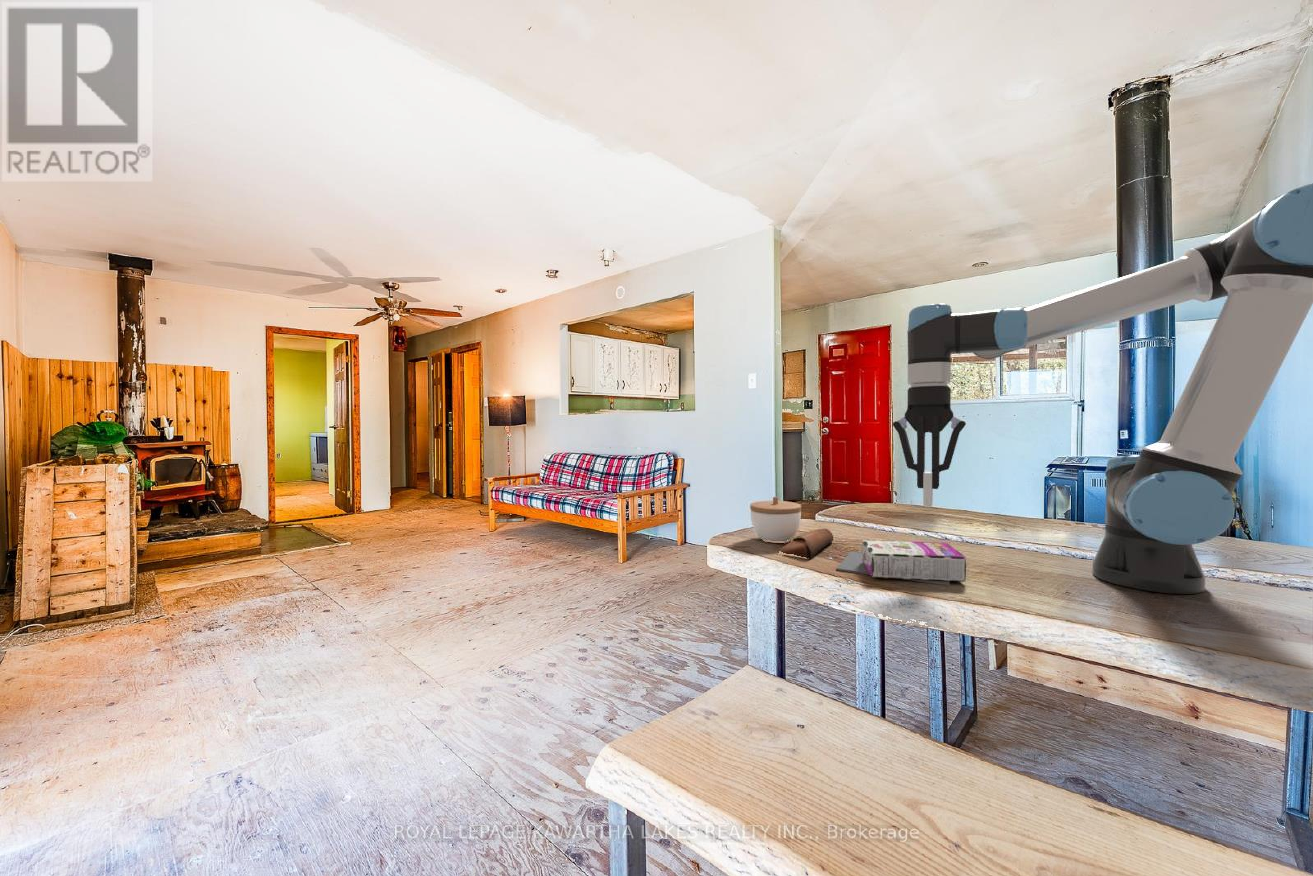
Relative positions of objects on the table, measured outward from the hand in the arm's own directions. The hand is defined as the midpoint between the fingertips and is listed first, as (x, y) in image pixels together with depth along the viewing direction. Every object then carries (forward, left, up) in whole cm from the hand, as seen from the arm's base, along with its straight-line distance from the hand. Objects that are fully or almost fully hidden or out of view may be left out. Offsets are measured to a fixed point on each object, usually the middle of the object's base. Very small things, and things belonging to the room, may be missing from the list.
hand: (927, 505), depth 103 cm
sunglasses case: (+26, -7, -14) cm, 31 cm away
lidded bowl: (+35, -12, -14) cm, 39 cm away
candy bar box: (-5, 0, -11) cm, 12 cm away
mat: (+6, 0, -13) cm, 15 cm away
